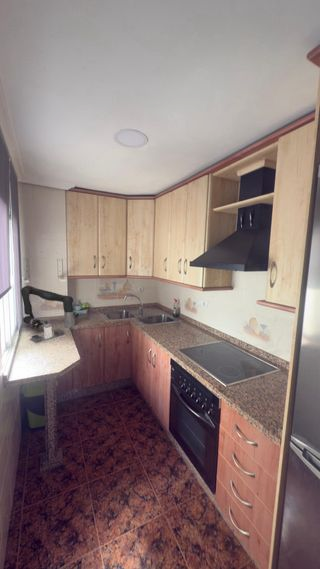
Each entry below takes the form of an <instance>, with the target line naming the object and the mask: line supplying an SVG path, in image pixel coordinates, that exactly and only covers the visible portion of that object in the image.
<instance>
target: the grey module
mask: <svg viewBox="0 0 320 569" xmlns="http://www.w3.org/2000/svg"><path fill="white" fill-rule="evenodd" d="M52 333H53V330H52V324H51V323H48V324H44V326H43V335H44V337H46V338H49V337H52Z"/></svg>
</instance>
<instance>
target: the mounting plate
mask: <svg viewBox="0 0 320 569" xmlns="http://www.w3.org/2000/svg"><path fill="white" fill-rule="evenodd" d="M66 336H67V335H66V333H65V331H64V330H61V329H60V328H57V329H54V330H53V332H52V337H49V338H46V337H44V334H43V335H41V336H40V335H38V334H35V335H32V336H31V338H29V341H30V342H31V343H33V344H35V345H36V346H37V345H40V344H43V343H46V342H50V341H54V340H57V339H60V338H63V337H66Z"/></svg>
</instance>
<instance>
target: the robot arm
mask: <svg viewBox="0 0 320 569" xmlns="http://www.w3.org/2000/svg"><path fill="white" fill-rule="evenodd" d="M20 294H21V298H22V301H23V309H24V310H23V312H24V314H25V315H27V316H24V317H23V318H22V321H23V323H25V325H26V324H27V325H30V326H31V328H32V329H39V328H40V327H44V325H45V324H49V322H48V321H46V320H45V321H41V320H40V319H38V318H35V315H34V314H33V306H32V303H31V300H30V295H34V296H37V297H39V298H41V299H43V300H46V301H48V302H49V301H52V302H62V306H63V314H64V315H63V317H64V328H65V329H70V328H73V327H75V326H76V324H75V320H76V319H75V317H74V307H73V303H74V298H73V297H72V296H70V295H63V294H60V293H56V292H53V291H49V290H44V289H40V288H37V287H34V286H31V285H25V286H23V287H22V288H21V289H20Z"/></svg>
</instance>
